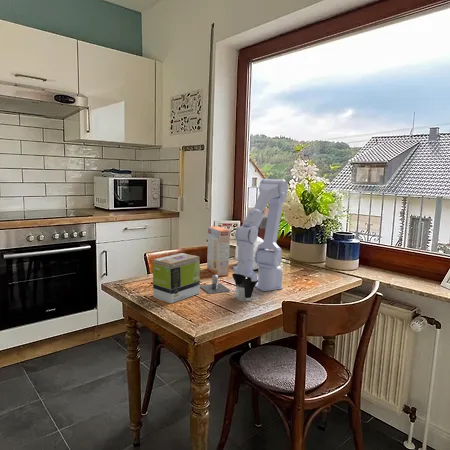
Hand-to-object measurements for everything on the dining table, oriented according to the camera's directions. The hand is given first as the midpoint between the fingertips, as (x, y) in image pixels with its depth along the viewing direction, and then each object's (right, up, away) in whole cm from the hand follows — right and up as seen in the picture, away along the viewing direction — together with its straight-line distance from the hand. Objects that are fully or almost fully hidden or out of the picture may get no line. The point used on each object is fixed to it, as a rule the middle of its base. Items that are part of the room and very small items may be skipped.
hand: (244, 294), depth 133 cm
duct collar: (0, -1, 0) cm, 1 cm away
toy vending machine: (+11, +8, +70) cm, 71 cm away
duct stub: (-11, 0, +10) cm, 15 cm away
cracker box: (-11, +4, +35) cm, 37 cm away
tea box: (-25, -1, +1) cm, 25 cm away
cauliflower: (+7, +5, +46) cm, 47 cm away
